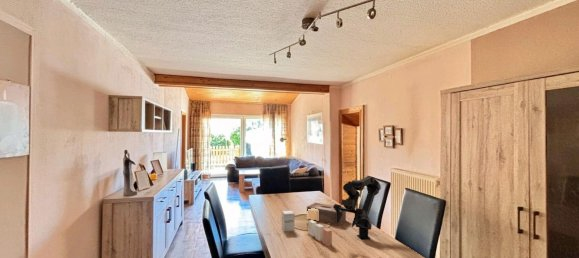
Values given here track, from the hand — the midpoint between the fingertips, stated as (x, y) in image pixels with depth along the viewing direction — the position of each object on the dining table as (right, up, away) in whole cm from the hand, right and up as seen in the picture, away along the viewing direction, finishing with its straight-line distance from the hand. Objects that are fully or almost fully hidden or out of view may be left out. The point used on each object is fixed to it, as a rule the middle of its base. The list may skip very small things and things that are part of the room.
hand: (344, 224), depth 151 cm
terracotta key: (-9, -13, +5) cm, 17 cm away
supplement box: (-32, -15, +29) cm, 46 cm away
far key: (-17, -13, +19) cm, 29 cm away
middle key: (-13, -13, +12) cm, 22 cm away
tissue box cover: (-3, -16, +52) cm, 55 cm away
